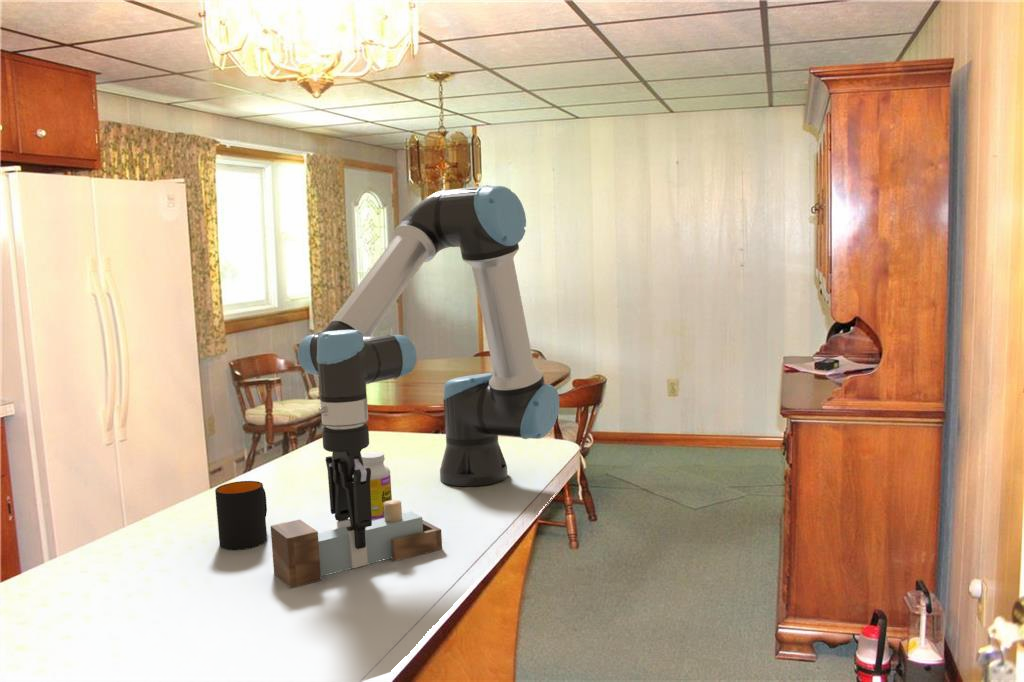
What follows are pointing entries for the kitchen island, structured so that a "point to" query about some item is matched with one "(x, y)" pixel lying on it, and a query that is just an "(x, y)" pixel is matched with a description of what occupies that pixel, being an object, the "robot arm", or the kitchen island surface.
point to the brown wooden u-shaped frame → (417, 542)
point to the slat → (368, 538)
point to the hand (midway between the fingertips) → (353, 561)
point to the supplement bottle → (378, 482)
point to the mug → (241, 515)
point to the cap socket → (295, 553)
